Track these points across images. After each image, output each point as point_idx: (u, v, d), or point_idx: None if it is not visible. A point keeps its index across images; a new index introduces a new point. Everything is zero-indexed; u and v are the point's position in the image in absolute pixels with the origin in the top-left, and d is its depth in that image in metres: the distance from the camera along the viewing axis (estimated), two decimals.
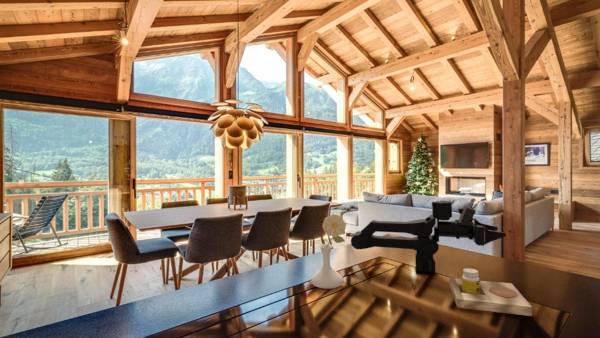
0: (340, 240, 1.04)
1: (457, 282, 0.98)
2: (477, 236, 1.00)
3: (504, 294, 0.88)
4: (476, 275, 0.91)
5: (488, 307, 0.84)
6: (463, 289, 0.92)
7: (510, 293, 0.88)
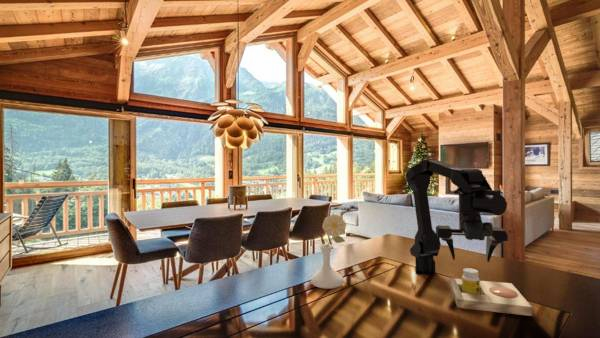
0: (340, 240, 1.04)
1: (457, 282, 0.98)
2: (436, 229, 0.95)
3: (504, 294, 0.88)
4: (476, 275, 0.91)
5: (488, 307, 0.84)
6: (463, 289, 0.92)
7: (510, 293, 0.88)
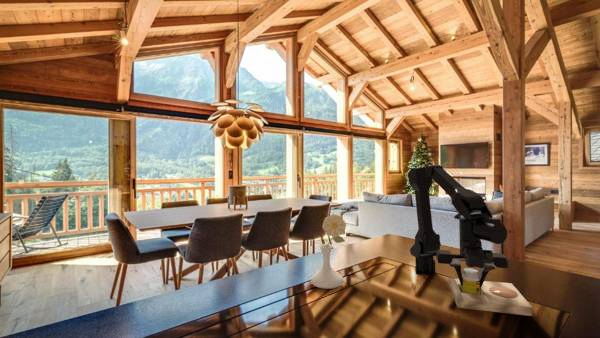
0: (340, 240, 1.04)
1: (457, 282, 0.98)
2: (437, 254, 0.95)
3: (504, 294, 0.88)
4: (476, 275, 0.91)
5: (488, 307, 0.84)
6: (463, 289, 0.92)
7: (510, 293, 0.88)
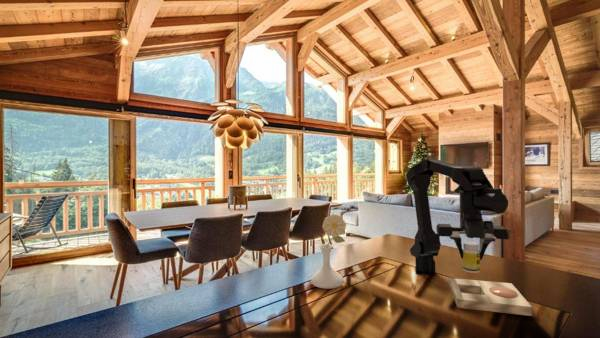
0: (340, 240, 1.04)
1: (457, 282, 0.98)
2: (437, 227, 0.95)
3: (504, 294, 0.88)
4: (476, 247, 0.90)
5: (488, 307, 0.84)
6: (463, 262, 0.92)
7: (510, 293, 0.88)
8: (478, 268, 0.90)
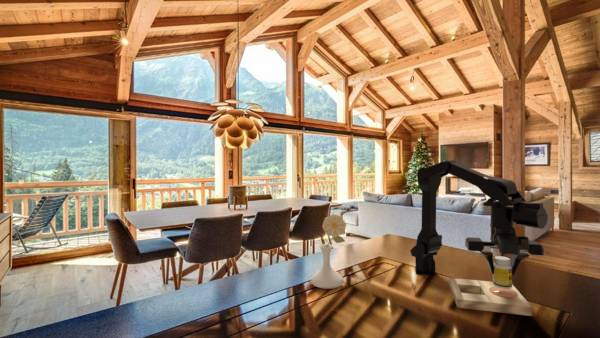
0: (340, 240, 1.04)
1: (457, 282, 0.98)
2: (466, 241, 0.92)
3: (504, 294, 0.88)
4: (508, 263, 0.88)
5: (488, 307, 0.84)
6: (494, 277, 0.90)
7: (510, 293, 0.88)
8: (510, 284, 0.88)
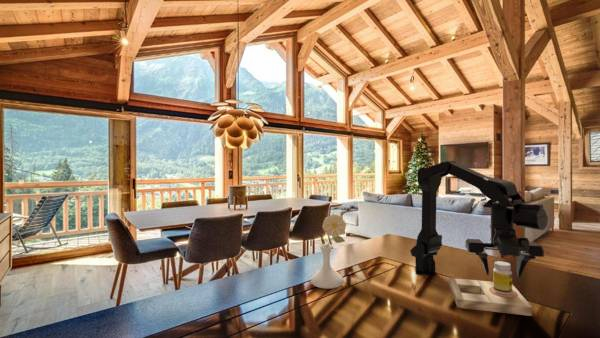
0: (340, 240, 1.04)
1: (457, 282, 0.98)
2: (467, 243, 0.92)
3: (504, 294, 0.88)
4: (509, 268, 0.88)
5: (488, 307, 0.84)
6: (495, 283, 0.90)
7: None
8: (511, 289, 0.88)
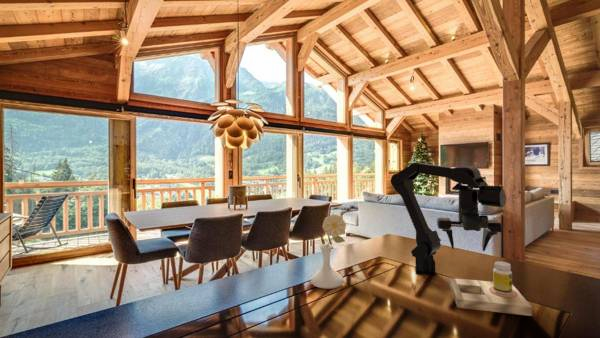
0: (340, 240, 1.04)
1: (457, 282, 0.98)
2: (437, 221, 1.05)
3: (504, 294, 0.88)
4: (509, 268, 0.88)
5: (488, 307, 0.84)
6: (495, 283, 0.90)
7: None
8: (511, 289, 0.88)
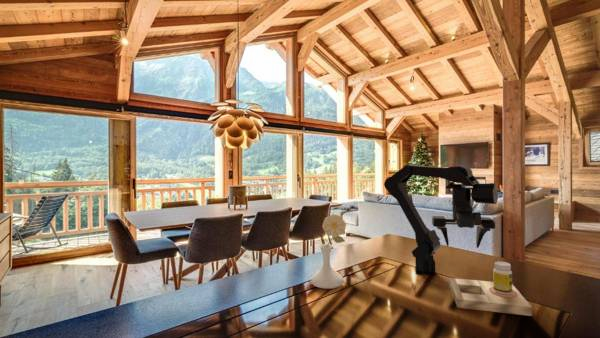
0: (340, 240, 1.04)
1: (457, 282, 0.98)
2: (432, 219, 1.07)
3: (504, 294, 0.88)
4: (509, 268, 0.88)
5: (488, 307, 0.84)
6: (495, 283, 0.90)
7: None
8: (511, 289, 0.88)
